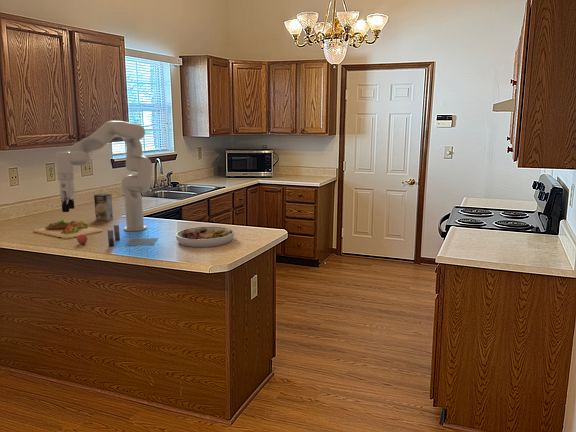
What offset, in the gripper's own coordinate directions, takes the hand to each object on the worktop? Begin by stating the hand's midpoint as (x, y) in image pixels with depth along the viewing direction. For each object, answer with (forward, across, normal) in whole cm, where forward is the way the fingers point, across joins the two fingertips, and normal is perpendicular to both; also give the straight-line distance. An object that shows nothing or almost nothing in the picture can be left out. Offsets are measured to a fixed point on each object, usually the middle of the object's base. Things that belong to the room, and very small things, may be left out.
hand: (68, 210), depth 251 cm
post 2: (+18, +5, -22) cm, 28 cm away
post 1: (+18, -7, -21) cm, 28 cm away
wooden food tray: (+19, +32, +10) cm, 39 cm away
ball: (+15, 0, -5) cm, 16 cm away
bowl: (+18, -6, -68) cm, 71 cm away
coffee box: (+17, +65, -4) cm, 67 cm away
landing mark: (+18, -2, -35) cm, 40 cm away
